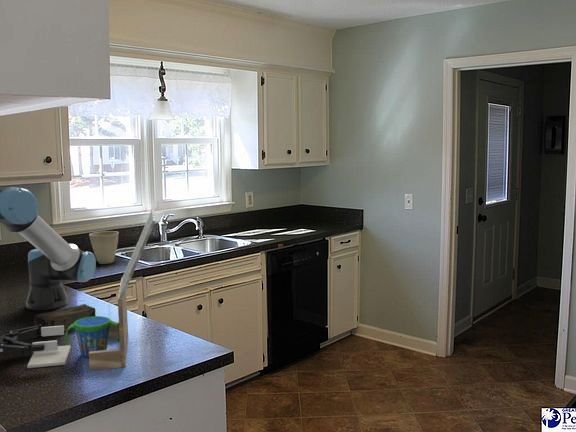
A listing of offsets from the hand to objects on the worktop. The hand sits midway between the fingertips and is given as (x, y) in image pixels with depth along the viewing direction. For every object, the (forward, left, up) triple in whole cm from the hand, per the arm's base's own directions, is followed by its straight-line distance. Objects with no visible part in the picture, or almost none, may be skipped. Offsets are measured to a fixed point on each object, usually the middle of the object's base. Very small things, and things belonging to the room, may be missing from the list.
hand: (60, 337), depth 167 cm
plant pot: (-136, +4, -6) cm, 136 cm away
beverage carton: (-28, -2, -6) cm, 29 cm away
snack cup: (0, +9, -6) cm, 11 cm away
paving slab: (0, -3, -6) cm, 7 cm away
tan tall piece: (0, +19, -6) cm, 20 cm away
